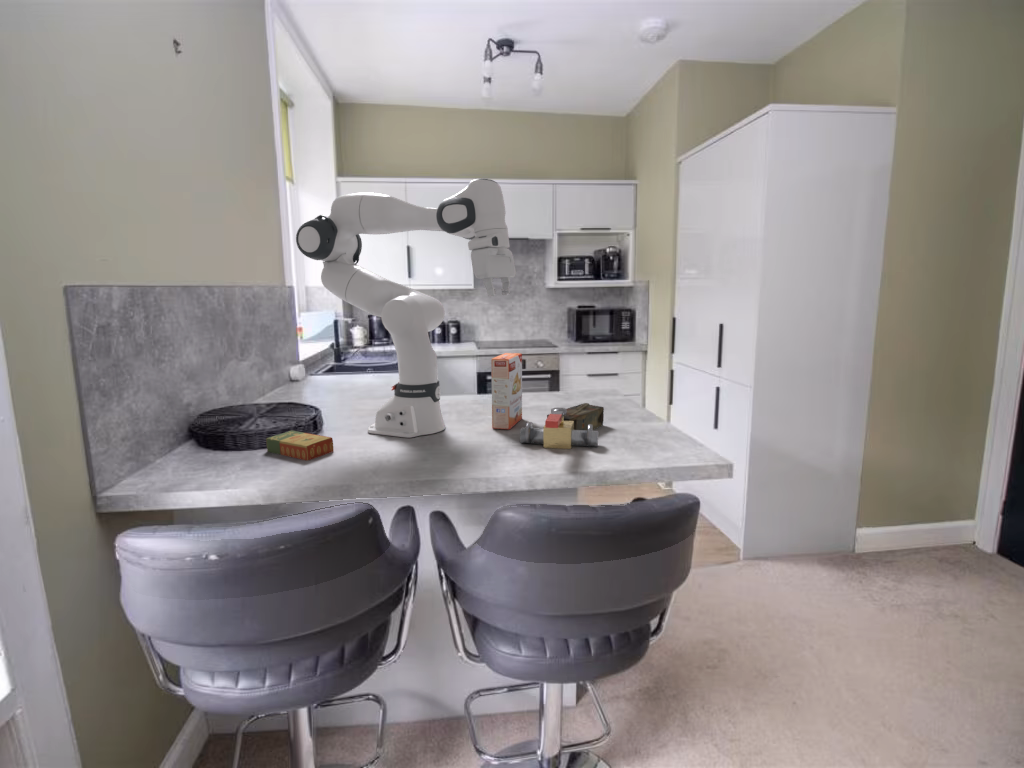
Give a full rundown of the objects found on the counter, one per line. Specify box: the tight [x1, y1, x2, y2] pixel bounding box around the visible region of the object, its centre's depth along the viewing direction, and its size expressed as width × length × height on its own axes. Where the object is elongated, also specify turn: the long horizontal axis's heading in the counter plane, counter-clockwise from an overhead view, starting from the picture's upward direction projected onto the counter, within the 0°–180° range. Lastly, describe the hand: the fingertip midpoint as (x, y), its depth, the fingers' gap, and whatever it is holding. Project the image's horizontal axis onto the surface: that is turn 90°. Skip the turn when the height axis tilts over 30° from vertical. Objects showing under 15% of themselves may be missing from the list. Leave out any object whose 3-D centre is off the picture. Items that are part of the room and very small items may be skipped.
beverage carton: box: [546, 402, 605, 430], centre depth 147 cm, size 8×19×7 cm, turn 140°
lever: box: [544, 407, 567, 428], centre depth 128 cm, size 14×4×2 cm, turn 167°
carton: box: [265, 430, 334, 461], centre depth 133 cm, size 8×16×4 cm, turn 60°
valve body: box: [519, 416, 599, 450], centre depth 134 cm, size 20×7×8 cm, turn 77°
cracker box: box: [490, 352, 523, 431], centre depth 154 cm, size 14×6×21 cm, turn 164°
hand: (499, 295), depth 138 cm, fingers open, 8 cm apart
